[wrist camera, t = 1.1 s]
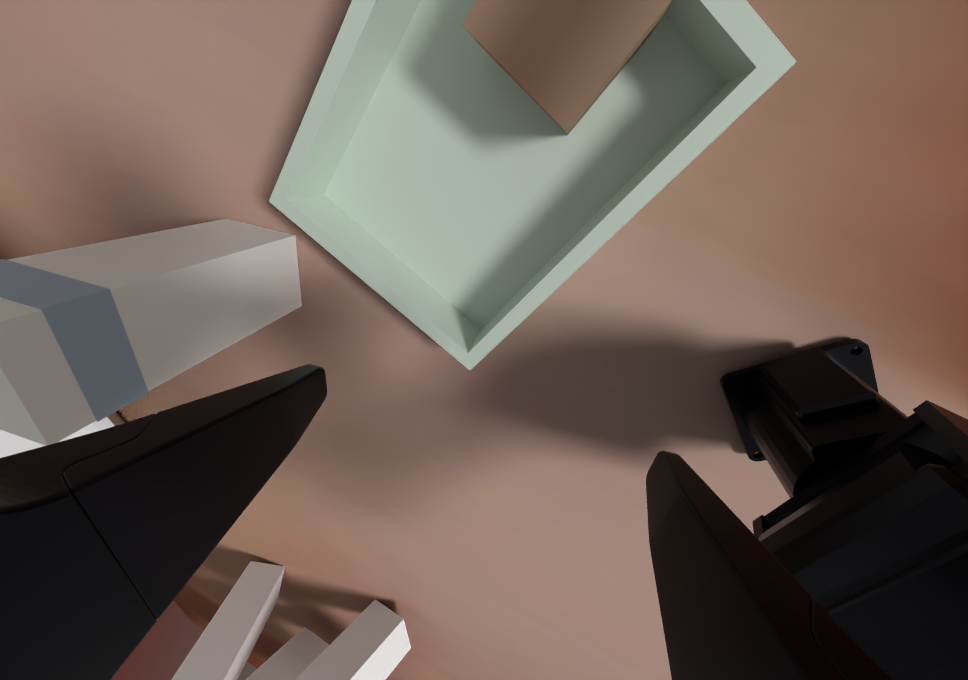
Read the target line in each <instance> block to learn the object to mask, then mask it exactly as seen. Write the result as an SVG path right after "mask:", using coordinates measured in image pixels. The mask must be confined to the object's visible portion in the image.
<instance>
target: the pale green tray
mask: <svg viewBox="0 0 968 680" xmlns="http://www.w3.org/2000/svg"><path fill="white" fill-rule="evenodd" d="M475 1H476V0H352V1H351V4H350V6H349V9H348V11H347V14H346V16H345V18H344V21H343V23H342V26H341V28H340V31H339V33H338V35H337V38H336V40H335V43H334V45H333V47H332V50H331V52H330V55H329V57H328V60H327V62H326V64H325V67H324V69H323V72H322V74H321V76H320V79H319V81H318V84H317V86H316V89H315V91H314V93H313V96H312V98H311V101H310V103H309V105H308V108H307V110H306V113H305V115H304V118H303V120H302V122H301V125H300V127H299V130H298V132H297V134H296V137H295V139H294V142H293V144H292V147H291V149H290V151H289V154H288V156H287V159H286V161H285V163H284V166H283V168H282V171H281V173H280V176H279V178H278V180H277V183H276V185H275V188H274V190H273V192H272V195H271V197H270V200H269V202H270V203H271V204H273V205H274V206H275V207H276V208H277V209H278V210H280V211H281V212H282V213H283V214H284V215H286V216H287V217H288V218H289V219H290V220H292V221H293V222H294V223H295V224H296V225H297V226H299V227H300V228H301V229H302V230H303V231H305V232H306V233H307V234H308V235H309V236H311V237H312V238H313V239H314V240H315V241H316V242H318V243H319V244H320V245H321V246H322V247H324V248H325V249H326V250H327V251H328V252H330V253H331V254H332V255H333V256H334V257H335V258H337V259H338V260H339V261H340V262H341V263H343V264H344V265H345V266H346V267H347V268H349V269H350V270H351V271H352V272H353V273H354V274H356V275H357V276H358V277H359V278H360V279H362V280H363V281H364V282H365V283H366V284H368V285H369V286H370V287H371V288H372V289H373V290H375V291H376V292H377V293H378V294H379V295H381V296H382V297H383V298H384V299H385V300H387V301H388V302H389V303H390V304H391V305H393V306H394V307H395V308H396V309H397V310H398V311H400V312H401V313H402V314H403V315H404V316H406V317H407V318H408V319H409V320H410V321H412V322H413V323H414V324H415V325H416V326H417V327H419V328H420V329H421V330H422V331H423V332H425V333H426V334H427V335H428V336H429V337H431V338H432V339H433V340H434V341H435V342H436V343H438V344H439V345H440V346H441V347H442V348H444V349H445V350H446V351H447V352H448V353H450V354H451V355H452V356H453V357H454V358H455V359H457V360H458V361H459V362H460V363H461V364H463V365H464V366H465V367H466V368H467V369H469V370H471V369H472V368H473V367H475V366H476V365H477V364H478V363H479V362H480V361H481V360H482V359H483V358H484V357H485V356H486V355H487V354H488V353H489V352H490V351H491V350H492V349H494V348H495V347H496V346H497V345H498V344H499V343H500V342H501V341H502V340H503V339H504V338H505V337H506V336H507V335H508V334H509V333H510V332H512V331H513V330H514V329H515V328H516V327H517V326H518V325H519V324H520V323H521V322H522V321H523V320H524V319H525V318H526V317H527V316H528V315H530V314H531V313H532V312H533V311H534V310H535V309H536V308H537V307H538V306H539V305H540V304H541V303H542V302H543V301H544V300H545V299H546V298H547V297H549V296H550V295H551V294H552V293H553V292H554V291H555V290H556V289H557V288H558V287H559V286H560V285H561V284H562V283H563V282H564V281H565V280H567V279H568V278H569V277H570V276H571V275H572V274H573V273H574V272H575V271H576V270H577V269H578V268H579V267H580V266H581V265H582V264H583V263H584V262H586V261H587V260H588V259H589V258H590V257H591V256H592V255H593V254H594V253H595V252H596V251H597V250H598V249H599V248H600V247H601V246H602V245H604V244H605V243H606V242H607V241H608V240H609V239H610V238H611V237H612V236H613V235H614V234H615V233H616V232H617V231H618V230H619V229H620V228H621V227H623V226H624V225H625V224H626V223H627V222H628V221H629V220H630V219H631V218H632V217H633V216H634V215H635V214H636V213H637V212H638V211H639V210H641V209H642V208H643V207H644V206H645V205H646V204H647V203H648V202H649V201H650V200H651V199H652V198H653V197H654V196H655V195H656V194H657V193H658V192H660V191H661V190H662V189H663V188H664V187H665V186H666V185H667V184H668V183H669V182H670V181H671V180H672V179H673V178H674V177H675V176H676V175H678V174H679V173H680V172H681V171H682V170H683V169H684V168H685V167H686V166H687V165H688V164H689V163H690V162H691V161H692V160H693V159H694V158H696V157H697V156H698V155H699V154H700V153H701V152H702V151H703V150H704V149H705V148H706V147H707V146H708V145H709V144H710V143H711V142H712V141H713V140H715V139H716V138H717V137H718V136H719V135H720V134H721V133H722V132H723V131H724V130H725V129H726V128H727V127H728V126H729V125H730V124H731V123H733V122H734V121H735V120H736V119H737V118H738V117H739V116H740V115H741V114H742V113H743V112H744V111H745V110H746V109H747V108H748V107H749V106H750V105H752V104H753V103H754V102H755V101H756V100H757V99H758V98H759V97H760V96H761V95H762V94H763V93H764V92H765V91H766V90H767V89H768V88H770V87H771V86H772V85H773V84H774V83H775V82H776V81H777V80H778V79H779V78H780V77H781V76H782V75H783V74H784V73H785V72H786V71H787V70H789V69H790V68H791V67H792V66H793V65H794V64H795V63H796V60H795V59H794V58H793V57H792V55H791V54H790V53H789V52H788V51H787V49H786V48H785V47H784V46H783V45H782V43H781V42H780V41H779V40H778V38H777V37H776V36H775V35H774V34H773V32H772V31H771V30H770V29H769V27H768V26H767V25H766V24H765V23H764V21H763V20H762V19H761V18H760V16H759V15H758V14H757V13H756V12H755V10H754V9H753V8H752V7H751V5H750V4H749V3H748V2H747V1H746V0H672V1H671V3H670V4H669V6H668V8H667V9H666V11H665V13H664V14H663V16H662V17H661V19H660V21H659V22H658V24H657V25H656V27H655V29H654V30H653V32H652V33H651V35H650V36H649V38H648V39H647V40H646V41H645V42H644V44H643V45H642V46H641V47H640V48H639V50H638V51H637V52H636V53H635V54H634V56H633V57H632V58H631V59H630V61H629V62H628V63H627V64H626V65H625V67H624V68H623V69H622V70H621V71H620V73H619V74H618V75H617V76H616V77H615V79H614V80H613V81H612V82H611V83H610V85H609V86H608V87H607V88H606V90H605V91H604V92H603V93H602V94H601V96H600V97H599V98H598V99H597V100H596V102H595V103H594V104H593V105H592V106H591V108H590V109H589V110H588V111H587V113H586V114H585V115H584V116H583V117H582V119H581V120H580V121H579V122H578V123H577V125H576V126H575V127H574V128H573V129H572V131H571V132H570V133H569V134H568V135H567V134H566V133H565V132H564V131H563V130H562V129H561V128H560V127H559V126H558V125H557V124H556V123H555V122H554V121H553V120H552V119H551V118H550V117H549V116H548V115H547V114H546V113H545V112H544V111H543V110H542V108H541V107H540V106H539V105H538V104H537V103H536V102H535V101H534V100H533V99H532V98H531V97H530V96H529V95H528V94H527V93H526V92H525V91H524V90H523V89H522V88H521V87H520V86H519V85H518V84H517V83H516V82H515V81H514V80H513V79H512V78H511V77H510V76H509V75H508V74H507V73H506V72H505V71H504V70H503V69H502V68H501V67H500V66H499V65H498V64H497V63H496V62H495V61H494V59H493V58H492V57H491V56H490V55H489V54H488V53H487V52H486V51H485V50H484V49H483V48H482V47H481V46H480V45H479V43H478V42H477V41H476V40H475V39H474V38H473V37H472V36H471V35H470V33H469V32H468V31H467V30H466V29H465V28H464V27H463V26H462V24H463V22H464V20H465V19H466V17H467V15H468V13H469V12H470V10H471V8H472V6H473V5H474V3H475Z"/></svg>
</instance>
